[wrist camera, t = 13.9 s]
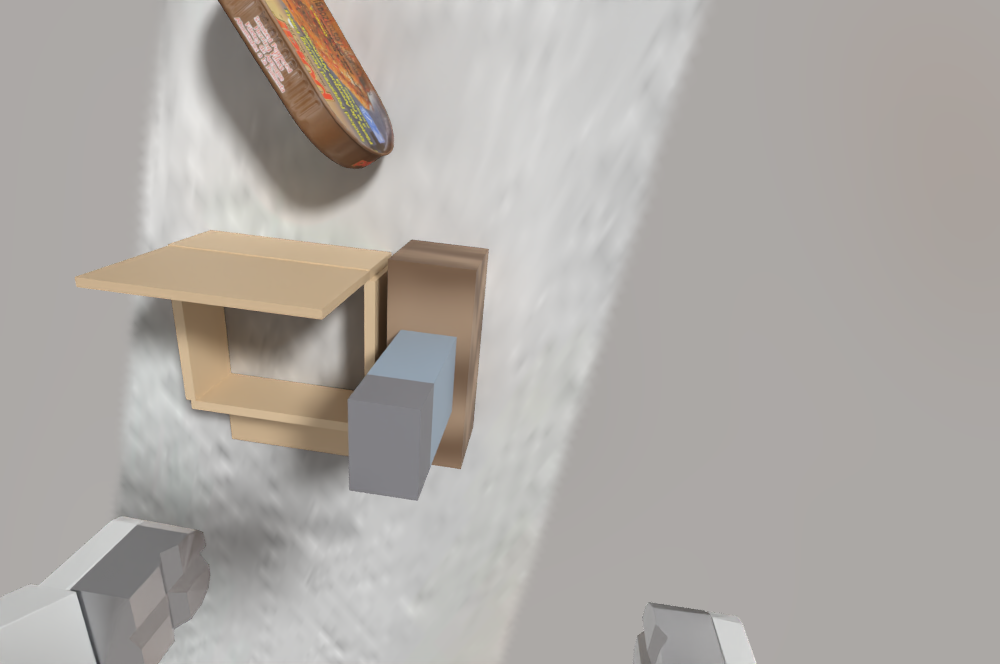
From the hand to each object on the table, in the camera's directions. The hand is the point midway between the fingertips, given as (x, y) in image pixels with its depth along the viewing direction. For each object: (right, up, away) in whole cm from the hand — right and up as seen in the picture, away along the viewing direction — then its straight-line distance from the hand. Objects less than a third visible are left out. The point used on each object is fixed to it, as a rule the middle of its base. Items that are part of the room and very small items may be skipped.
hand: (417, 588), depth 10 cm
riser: (-3, +4, +35) cm, 35 cm away
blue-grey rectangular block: (-4, +2, +29) cm, 29 cm away
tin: (-10, +24, +28) cm, 38 cm away
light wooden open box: (-15, +3, +37) cm, 40 cm away
